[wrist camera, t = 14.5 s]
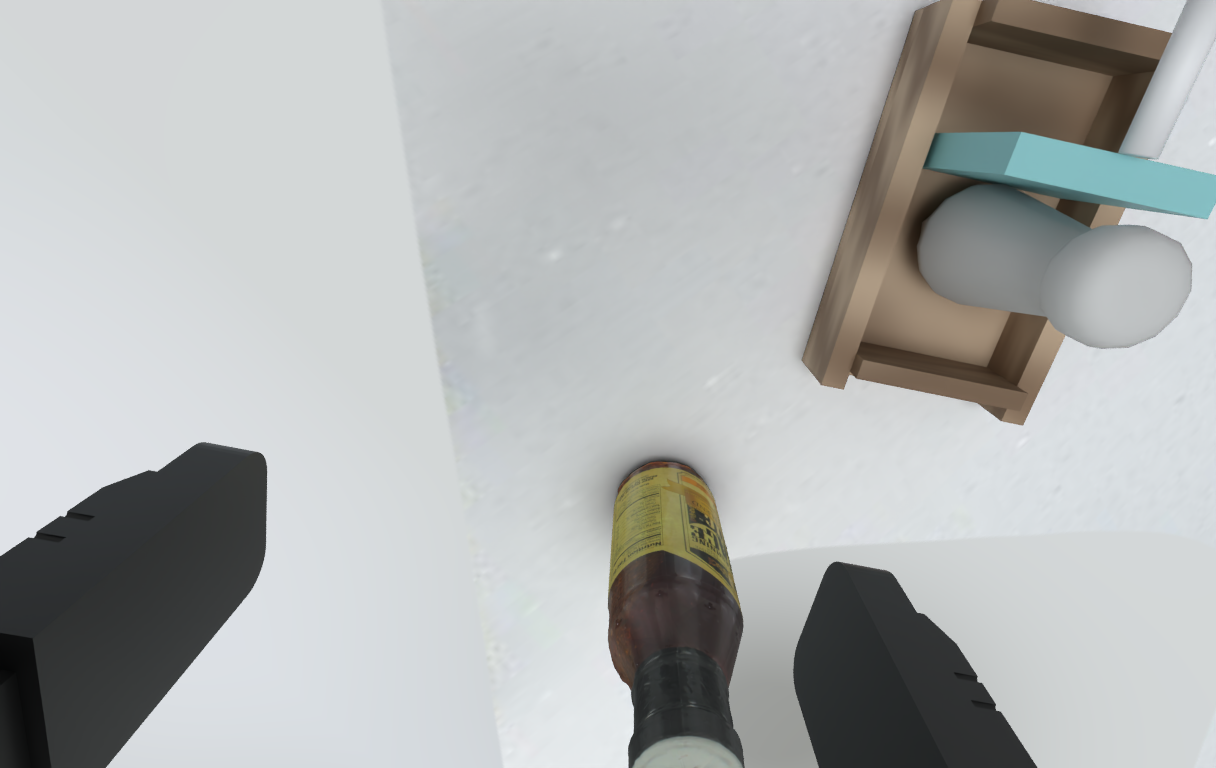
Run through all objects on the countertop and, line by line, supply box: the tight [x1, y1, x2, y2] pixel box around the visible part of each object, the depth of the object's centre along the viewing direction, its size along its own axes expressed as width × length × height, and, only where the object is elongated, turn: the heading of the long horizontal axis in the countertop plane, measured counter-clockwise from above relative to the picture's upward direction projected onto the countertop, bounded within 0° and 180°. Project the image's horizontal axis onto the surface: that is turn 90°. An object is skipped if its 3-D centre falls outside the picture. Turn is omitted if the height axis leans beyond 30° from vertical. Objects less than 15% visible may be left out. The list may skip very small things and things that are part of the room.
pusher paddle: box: [922, 0, 1216, 219], centre depth 27 cm, size 8×8×10 cm
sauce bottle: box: [608, 461, 744, 768], centre depth 32 cm, size 7×6×20 cm
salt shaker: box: [917, 184, 1192, 349], centre depth 28 cm, size 6×6×13 cm
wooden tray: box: [802, 0, 1172, 425], centre depth 32 cm, size 18×11×6 cm, turn 169°
